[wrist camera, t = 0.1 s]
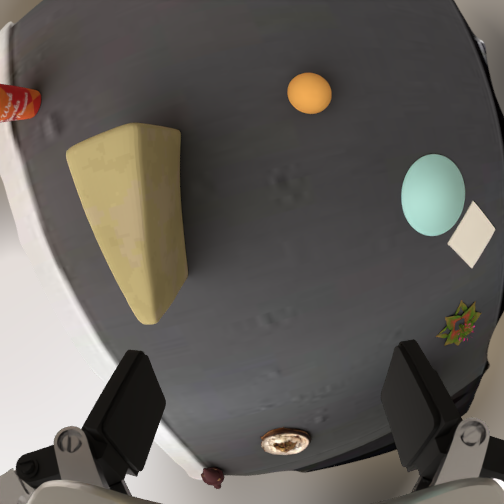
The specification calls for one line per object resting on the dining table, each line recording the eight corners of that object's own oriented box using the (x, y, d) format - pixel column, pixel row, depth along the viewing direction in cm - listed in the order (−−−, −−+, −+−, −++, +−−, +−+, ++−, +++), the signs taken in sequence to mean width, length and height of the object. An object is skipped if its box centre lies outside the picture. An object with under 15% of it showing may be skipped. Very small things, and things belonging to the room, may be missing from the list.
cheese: (214, 273, 43) (189, 332, 29) (157, 280, 44) (116, 334, 30) (183, 127, 35) (135, 117, 21) (123, 144, 36) (59, 149, 22)
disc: (401, 151, 34) (401, 151, 34) (465, 157, 33) (466, 157, 33) (399, 237, 39) (399, 237, 39) (460, 234, 38) (461, 234, 38)
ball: (284, 79, 32) (286, 68, 27) (324, 78, 32) (333, 68, 26) (288, 116, 34) (291, 111, 29) (328, 116, 34) (338, 110, 28)
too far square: (447, 243, 38) (447, 243, 38) (472, 200, 35) (473, 200, 35) (471, 268, 40) (471, 268, 39) (494, 229, 37) (495, 229, 36)
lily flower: (455, 350, 47) (464, 363, 43) (425, 339, 46) (434, 352, 42) (486, 307, 43) (497, 318, 39) (460, 289, 42) (472, 301, 38)
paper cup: (29, 132, 35) (-26, 138, 22) (16, 109, 33) (-36, 111, 20) (50, 98, 33) (-7, 95, 20) (36, 77, 31) (-17, 71, 18)
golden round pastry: (326, 428, 57) (328, 441, 53) (297, 453, 62) (297, 465, 58) (272, 417, 56) (271, 431, 52) (247, 444, 61) (246, 456, 57)
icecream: (188, 474, 60) (207, 488, 66) (211, 481, 57) (227, 493, 64) (197, 457, 66) (214, 472, 72) (219, 462, 63) (234, 476, 69)
